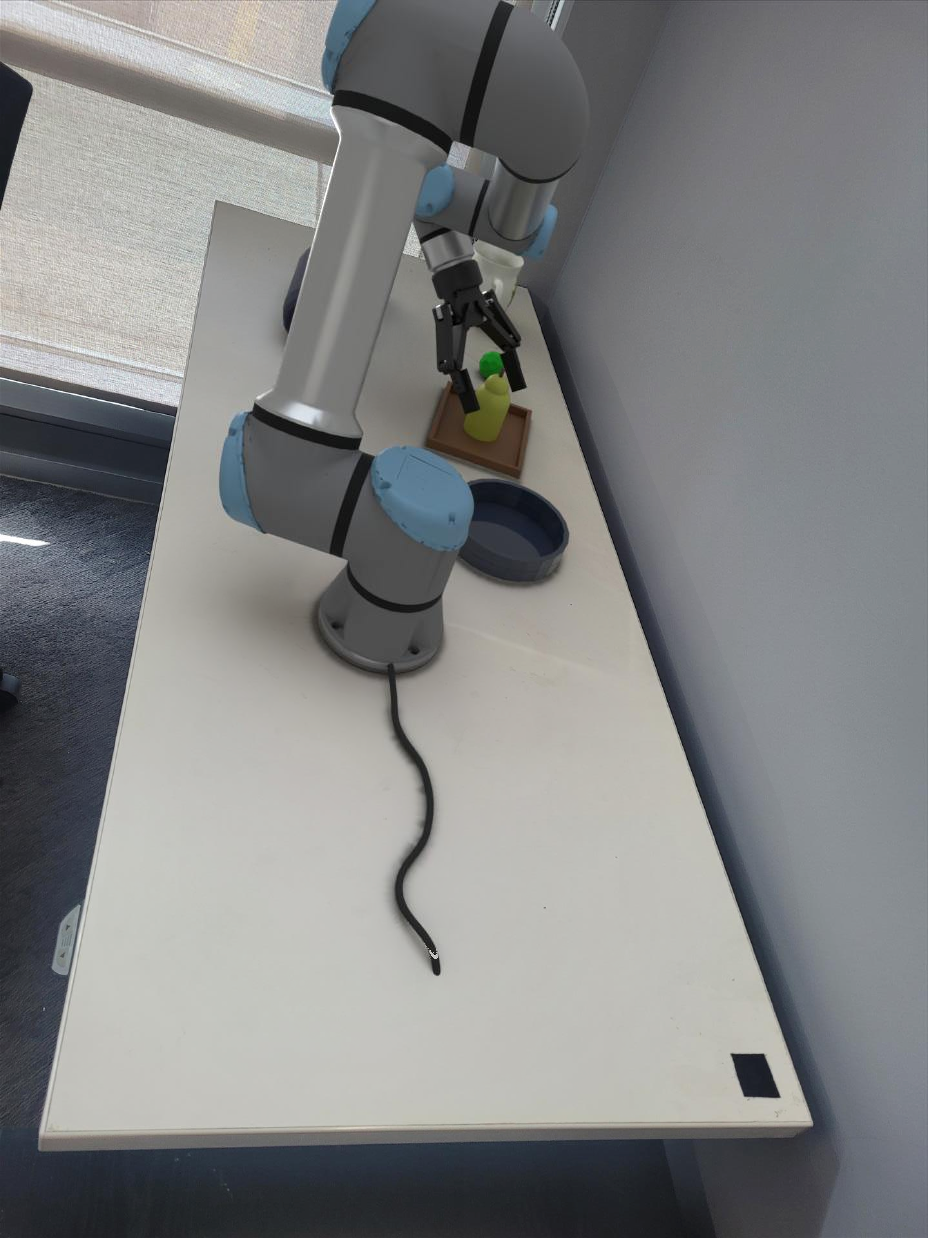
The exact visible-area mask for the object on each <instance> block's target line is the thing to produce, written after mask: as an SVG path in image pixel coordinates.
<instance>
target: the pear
mask: <svg viewBox="0 0 928 1238" xmlns="http://www.w3.org/2000/svg"><path fill="white" fill-rule="evenodd" d="M504 375H505V368H501V370H500V373H499V374H494V375H491V376H489V377H488V378H486V379H485V381H484V382H483V383H481V384H480V385H479V386H478V387H477V388H476V389H475V390H476V391H475V394H476V397H477V400H478V403H479V406H480V409H481V410H478V411H475V412H472V413H469V414H467V416H466V419H465V422H464V430H465V431H466V433H467V434H468V435H470V436H471V437H473V438H475V439H477V440H480V441H484V442H491V441H494V440H496V439H497V437H498V434H499V431H500V429H501V426H502V424H503V421H504V419H505V416H506V413H507V411H508V408H509V405H510V403H511V395H510V392H509V390H510V385H509V382H508V379H507V378H506V376H504Z"/></svg>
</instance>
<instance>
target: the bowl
mask: <svg viewBox="0 0 928 1238" xmlns="http://www.w3.org/2000/svg"><path fill="white" fill-rule="evenodd" d="M466 483H467V484H468V486H469V488H470V490H471V493H472V496H473V501H474V511H473V516H472V519H471V522H470V525H469V531H468V537H467V539H466V541H465V543H464V545H462V546H461V548H460V550H459V553H458V556H459V557H460V558H461V559H462V560H464V561H465V562H466V563H467V564H469V565H470V566H471V567H473V568H475V569H476V570H478V571H480V572H482V573H484V574H486V575H488V576H490V577H493V578H496V579H500V580H502V581H503V580H504V581H509V582H517V583H518V582H519V583H526V582H527V583H529V582H534V581H539V580H541V579H545V578H546V577H547V576H549V575H550V574H551V573H553V572H554V571H555V570H556V567H557V566H558V564H559V562H560V561H561V559H562V557H563V555H564V553H565V551H566V549H567V547H568V545H569V543H570V531H569V527H568V523H567V521H566V519H565V518H564V516H563V515H562V513H561V512H560V510H558V509H557V508H556V506H555V505H554V504H553V503H552V502H551V501H549V500H548V499H547V498H546V497H544V496H542V495H541V494H540V493H538V492H536V491H535V490H533V489H531V488H530V487H527V486H525V485H522V484H520V483H516V482H513V481H511V480H505V479H501V478H478V479H473V480H470V481H466Z"/></svg>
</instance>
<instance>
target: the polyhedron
mask: <svg viewBox="0 0 928 1238" xmlns="http://www.w3.org/2000/svg"><path fill="white" fill-rule="evenodd" d="M500 354H501V353H500V352H498V351H495V350H491V351H488V352H485V353H484V354H483V355H482V357H481V358H480V360H479V362H478V364H479V365H478V369H479V372H480V373H481V375H482V376H483V377H484V378H485V379H487V378H488V377H489V376H491V375H494V374H499V373H500V370H501V368H504V366H503V363H502V360H501V357H500Z"/></svg>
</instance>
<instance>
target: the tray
mask: <svg viewBox="0 0 928 1238" xmlns="http://www.w3.org/2000/svg"><path fill="white" fill-rule="evenodd" d="M476 390H477V389H474V391H476ZM532 415H533V410H532V409H530V408H527V407H524V406H521V405H518V404H515V403H513V402H510V405H509V408H508V411H507V413H506V416H505V419H504V421H503V424H502V426H501V429H500V431H499V434H498V437H497V439H496V440H494V441H491V442H484V441H480V440H477V439H475V438H473V437H471V436H470V435H468V434H467V433H466V431H465V430H464V422H465V419H466V416H467V414H465V413H464V410H463V407H462V404H461V401H460V399H459V396H458V394H457V393H456V391H455V388H454V385H453V382H452V380H447V383H446V386H445V389H444V391H443V394H442V398H441V400H440V403H439V406H438V409H437V412H436V414H435V418H434V420H433V423H432V426H431V429H430V432H429V435H428V438H427V441H426V443H425V447H426V448H429V449H432V450H434V451H437V452H440V453H443V454H446V455H448V456H452V457H454V458H458V459H461V460H463V461H465V462H469V463H471V464H475V465H478V466H479V467H480V466H481V467H483V468H486V469H489V470H492V471H494V472H497V473H500V474H503V475H506V476H508V477H512V478H515V479H520V476H521V475H522V470H523V465H524V460H525V455H526V448H527V442H528V438H529V431H530V427H531V419H532Z"/></svg>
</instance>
